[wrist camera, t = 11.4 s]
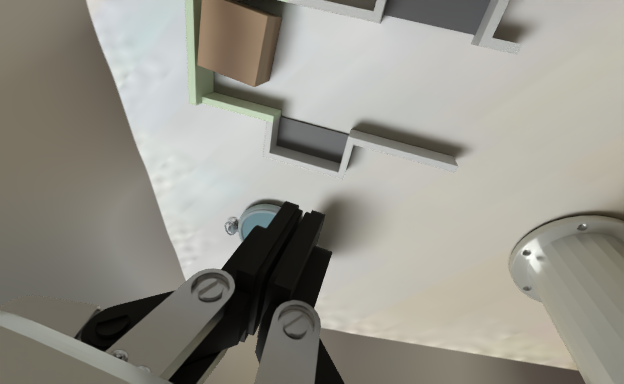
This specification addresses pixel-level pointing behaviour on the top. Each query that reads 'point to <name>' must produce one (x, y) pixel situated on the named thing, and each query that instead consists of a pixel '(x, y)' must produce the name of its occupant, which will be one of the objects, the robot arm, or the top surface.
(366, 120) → the top surface
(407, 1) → the box
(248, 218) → the pocket watch
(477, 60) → the top surface
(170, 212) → the top surface
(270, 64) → the walnut block
